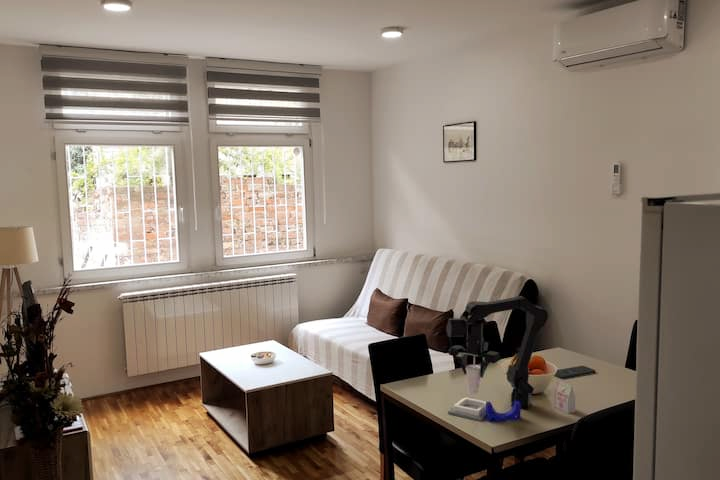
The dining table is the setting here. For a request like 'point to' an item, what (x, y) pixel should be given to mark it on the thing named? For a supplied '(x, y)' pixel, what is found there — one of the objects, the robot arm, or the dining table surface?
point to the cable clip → (501, 417)
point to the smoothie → (473, 377)
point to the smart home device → (573, 372)
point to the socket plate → (469, 409)
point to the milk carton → (564, 398)
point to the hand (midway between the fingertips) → (473, 375)
